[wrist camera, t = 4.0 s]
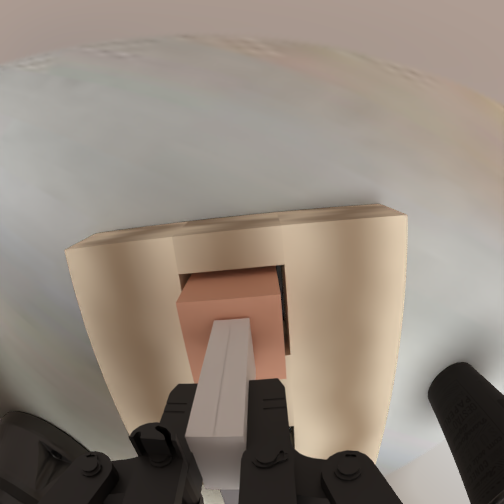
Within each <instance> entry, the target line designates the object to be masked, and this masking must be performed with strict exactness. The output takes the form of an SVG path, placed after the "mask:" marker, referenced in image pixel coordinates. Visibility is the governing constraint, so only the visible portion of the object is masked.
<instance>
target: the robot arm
mask: <svg viewBox="0 0 504 504" xmlns="http://www.w3.org/2000/svg"><path fill="white" fill-rule="evenodd" d="M166 403H167V404H166V405H165V408H164V413H163V414H162V417H161V420H160V423H159V422H153V423H147V424H144V425H141V426H139V427H138V428H136V429H135V430H133V431H132V433H131V434H130V436H129V439H130V441H131V443H132V445H133V447H134V448H135V450H136V452H137V454H138V457H135V458H131V459H126V460H118V461H111V460H110V459H109V457H108V456H106V455H105V454H103V453H100V452H96V451H95V452H88V451H87V450H86V449H85V448H84V447H82V446H81V445H80V444H79V443H77V442H76V441H75V440H73V439H72V438H71V437H69V436H68V435H67V434H65V433H64V432H62V431H61V430H59V429H57V428H56V427H54V426H53V425H51V424H49V423H47V422H45V421H43V420H41V419H39V418H37V417H35V416H32V415H29V414H26V413H22V412H9V413H7V414H6V415H5V416H4V418H3V419H2V420H1V421H0V504H204V501H203V497H202V494H201V488H202V482H203V484H204V486H205V489H221V490H236V489H239V502H238V504H403V503H402V502H401V501H400V499H399V498H398V496H397V495H396V494H395V492H394V491H393V489H392V488H391V486H390V485H389V484H388V482H387V481H386V479H385V478H384V476H383V475H382V474H381V472H380V471H379V469H378V468H377V467H376V465H375V464H374V462H373V461H372V460H371V459H370V458H369V457H368V456H367V455H366V454H364V453H361V452H359V451H352V450H346V451H341V452H337V453H335V454H333V455H331V456H330V457H329V458H328V459H327V460H326V459H317V458H311V457H307V456H305V455H302V454H300V453H299V452H298V451H296V450H295V449H294V447H293V446H292V444H291V440H290V431H289V421H288V411H287V402H286V392H285V386H284V385H283V384H282V383H281V381H280V380H279V379H278V378H273V379H260V380H256V368H255V360H254V352H253V344H252V336H251V328H250V319H249V318H242V319H229V320H214V322H213V326H212V330H211V334H210V338H209V342H208V346H207V350H206V354H205V357H204V361H203V365H202V369H201V373H200V377H199V381H198V383H193V384H178V385H177V386H176V387H175V388H174V389H173V390H172V391H171V392H170V394H169V397H168V399H167V402H166Z"/></svg>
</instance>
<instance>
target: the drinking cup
mask: <svg viewBox="0 0 504 504" xmlns="http://www.w3.org/2000/svg"><path fill="white" fill-rule="evenodd" d="M428 399H429V401H430V403H431V406H432V408H433V410H434V412H435V415H436V417H437V419H438V421H439V424H440V426H441V428H442V431H443V433H444V435H445V438H446V440H447V442H448V445H449V447H450V450H451V452H452V455H453V457H454V460H455V462H456V465H457V467H458V470H459V473H460V475H461V478H462V481H463V483H464V486H465V489H466V491H467V495H468V497H469V500H470V503H471V504H504V395H503V394H502V393H501V392H499V391H498V390H497V389H496V388H495V387H494V386H493V385H492V384H491V383H490V382H488V381H487V380H486V379H485V378H484V377H483V376H482V375H481V374H480V373H478V372H477V371H476V370H475V369H474V368H473V367H472V366H471V365H469V364H468V363H464V362H460V363H456V364H453V365H451V366H449V367H448V368H446V369H445V370H443V371H442V372H441V373H440V374H439V375H438V376H437V377H436V378H435V380H434V381H433V383H432V384H431V386H430V389H429V392H428Z"/></svg>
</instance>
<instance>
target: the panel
mask: <svg viewBox="0 0 504 504" xmlns="http://www.w3.org/2000/svg"><path fill="white" fill-rule="evenodd" d="M64 251H65V255H66V259H67V263H68V268H69V272H70V276H71V279H72V283H73V287H74V291H75V294H76V298H77V301H78V305H79V308H80V311H81V315H82V318H83V321H84V324H85V327H86V330H87V333H88V336H89V339H90V342H91V345H92V348H93V350H94V353H95V356H96V359H97V361H98V364H99V367H100V369H101V372H102V374H103V377H104V379H105V382H106V384H107V387H108V389H109V391H110V394H111V396H112V399H113V401H114V403H115V405H116V408H117V410H118V412H119V414H120V416H121V419H122V421H123V423H124V425H125V427H126V429H127V431H128V433H129V435H130V434H131V433H132V431H133V430H135V429H136V428H138V427H139V426H141V425H144V424H147V423H153V422H159V423H160V420H161V417H162V414H163V413H164V408H165V405H166V404H167V403H166V402H167V399H168V397H169V394H170V392H171V391H172V390H173V389H174V388H175V387H176V386H177V385H178V384H193V383H194V380H193V376H192V372H191V368H190V364H189V360H188V356H187V352H186V347H185V343H184V339H183V334H182V330H181V325H180V321H179V316H178V312H177V307H176V301H177V300H178V298H179V296H180V294H181V292H182V290H183V288H184V287H185V285H186V283H187V281H188V279H189V278H190V276H191V274H192V273H198V272H210V271H221V270H232V269H243V268H253V267H264V266H274V265H281V274H282V287H283V300H284V314H285V321H283V333H284V347H285V362H286V378H287V379H279V380H280V381H281V383H282V384H283V385H284V386H285V392H286V402H287V411H288V421H289V426H291V432H292V433H290V440H291V444H292V446H293V447H294V449H295V450H296V451H298V452H299V453H300V454H302V455H305V456H307V457H311V458H317V459H326V460H327V459H328V458H329V457H330V456H331V455H333V454H335V453H337V452H341V451H346V450H352V451H359V452H361V453H364V454H366V455H367V456H368V457H369V458H370V459H371V460H372V461H373V462H374V464H376V460H377V457H378V453H379V449H380V445H381V441H382V437H383V433H384V428H385V424H386V420H387V415H388V410H389V405H390V400H391V395H392V390H393V384H394V378H395V372H396V366H397V359H398V352H399V345H400V337H401V328H402V319H403V309H404V297H405V283H406V265H407V215H406V214H404V213H401V212H399V211H396V210H394V209H391V208H389V207H386V206H384V205H381V204H370V205H356V206H342V207H329V208H317V209H305V210H294V211H283V212H272V213H262V214H252V215H242V216H232V217H223V218H213V219H205V220H196V221H187V222H179V223H170V224H162V225H154V226H146V227H139V228H131V229H124V230H116V231H109V232H102V233H96V234H94V235H92V236H90V237H88V238H86V239H84V240H82V241H80V242H78V243H76V244H75V245H73V246H71V247H69V248H67V249H65V250H64ZM202 485H204V484H203V482H202Z"/></svg>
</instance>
